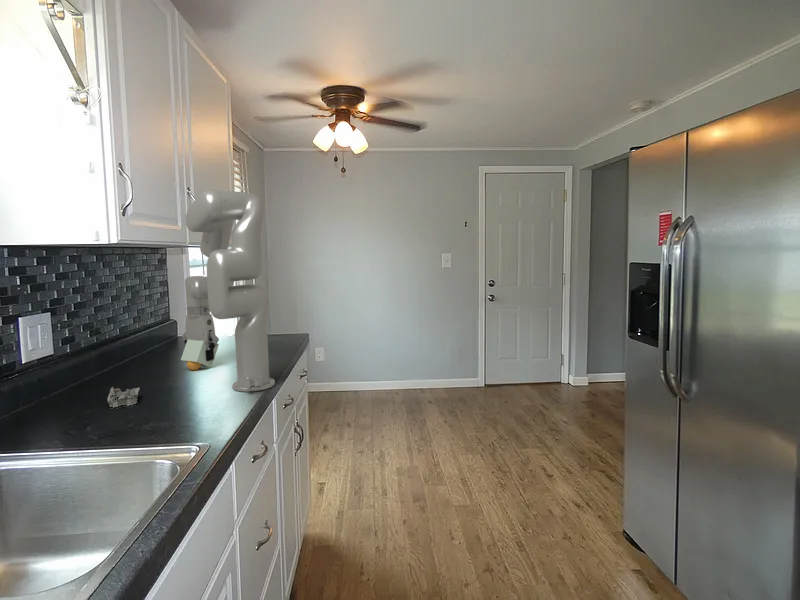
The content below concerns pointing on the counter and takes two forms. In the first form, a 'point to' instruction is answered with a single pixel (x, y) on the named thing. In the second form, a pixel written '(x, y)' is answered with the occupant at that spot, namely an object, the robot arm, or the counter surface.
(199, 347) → the pale green cube
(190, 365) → the ball
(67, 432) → the counter surface
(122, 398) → the egg carton
